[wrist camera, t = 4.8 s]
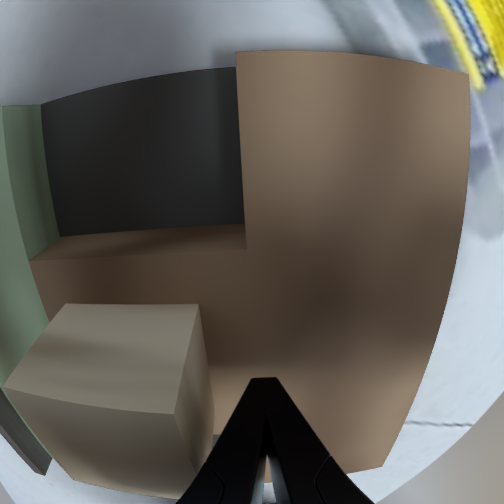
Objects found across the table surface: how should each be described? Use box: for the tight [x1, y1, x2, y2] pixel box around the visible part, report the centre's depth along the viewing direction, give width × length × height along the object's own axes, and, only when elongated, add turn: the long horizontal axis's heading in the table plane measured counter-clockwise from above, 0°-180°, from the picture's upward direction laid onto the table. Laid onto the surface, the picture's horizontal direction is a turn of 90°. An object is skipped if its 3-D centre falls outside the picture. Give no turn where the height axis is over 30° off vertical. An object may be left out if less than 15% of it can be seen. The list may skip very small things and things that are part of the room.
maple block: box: [2, 303, 216, 499], centre depth 8 cm, size 4×4×4 cm
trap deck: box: [0, 50, 470, 483], centre depth 10 cm, size 20×18×4 cm
